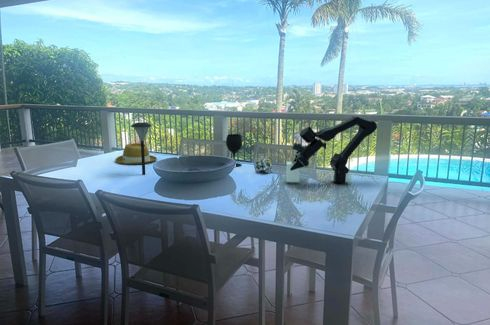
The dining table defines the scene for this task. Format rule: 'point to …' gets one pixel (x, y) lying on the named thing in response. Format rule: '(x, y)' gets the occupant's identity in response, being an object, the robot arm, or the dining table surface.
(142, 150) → the solar garden light
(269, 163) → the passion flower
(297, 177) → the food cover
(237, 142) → the wine glass
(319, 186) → the dining table surface
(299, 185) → the placemat
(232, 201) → the dining table surface
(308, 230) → the dining table surface
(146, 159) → the fedora
